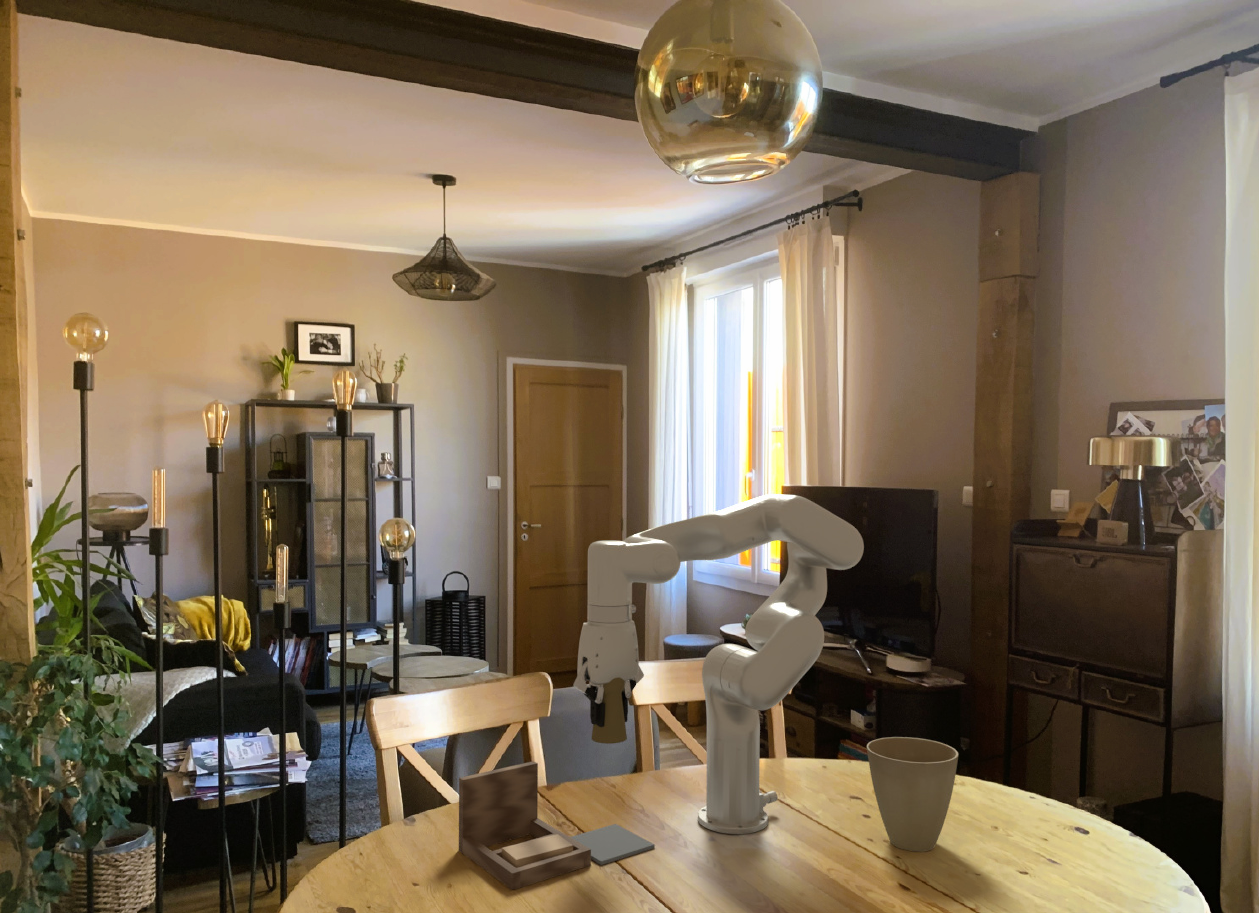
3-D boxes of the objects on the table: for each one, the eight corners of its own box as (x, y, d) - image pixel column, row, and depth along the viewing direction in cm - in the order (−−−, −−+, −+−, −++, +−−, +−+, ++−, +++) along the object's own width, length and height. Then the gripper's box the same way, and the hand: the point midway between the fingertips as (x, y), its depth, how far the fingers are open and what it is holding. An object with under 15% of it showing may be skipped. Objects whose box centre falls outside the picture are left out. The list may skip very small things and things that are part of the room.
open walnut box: (533, 829, 160) (533, 761, 160) (590, 865, 146) (591, 790, 146) (458, 850, 151) (459, 777, 151) (512, 890, 137) (512, 810, 137)
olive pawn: (628, 733, 156) (629, 669, 156) (625, 744, 150) (625, 677, 150) (593, 732, 157) (594, 668, 157) (588, 743, 151) (589, 676, 151)
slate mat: (615, 827, 161) (615, 823, 161) (654, 848, 152) (654, 844, 152) (563, 842, 154) (563, 839, 154) (601, 865, 146) (601, 861, 146)
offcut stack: (557, 856, 150) (557, 834, 150) (572, 868, 145) (573, 845, 145) (501, 870, 144) (501, 848, 144) (516, 883, 140) (516, 859, 140)
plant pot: (972, 842, 155) (972, 748, 155) (934, 870, 144) (934, 769, 144) (891, 819, 165) (891, 731, 166) (850, 843, 154) (850, 749, 155)
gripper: (635, 607, 162) (634, 710, 162) (555, 616, 152) (555, 726, 151) (662, 612, 156) (661, 719, 156) (581, 622, 146) (580, 737, 145)
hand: (609, 721), depth 154 cm, fingers closed on olive pawn, 4 cm apart
